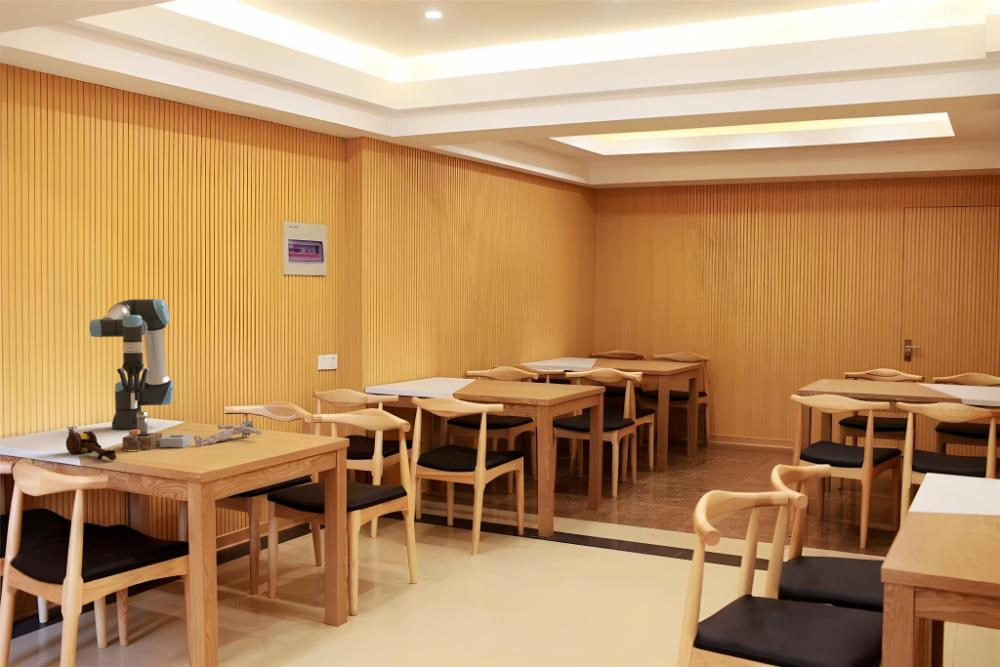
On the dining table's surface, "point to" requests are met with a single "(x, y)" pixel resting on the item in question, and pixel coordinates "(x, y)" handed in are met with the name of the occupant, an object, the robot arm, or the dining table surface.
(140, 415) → the peg
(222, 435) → the toy
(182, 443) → the grey square frame
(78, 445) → the gavel
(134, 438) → the key
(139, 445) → the socket block
